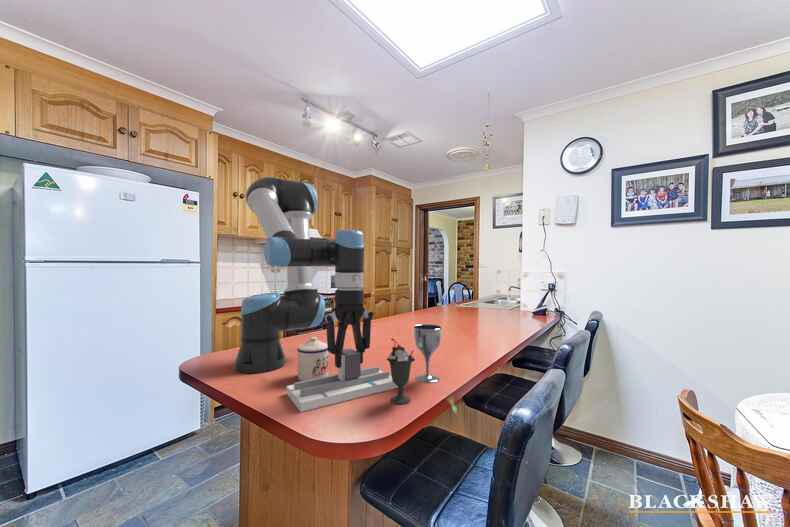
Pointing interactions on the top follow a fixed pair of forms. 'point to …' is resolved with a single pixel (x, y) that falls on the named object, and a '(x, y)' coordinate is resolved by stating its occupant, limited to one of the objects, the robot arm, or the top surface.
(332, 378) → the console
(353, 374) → the fader tab
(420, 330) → the wine glass
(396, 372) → the sundae
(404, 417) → the top surface
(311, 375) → the teacup with lid
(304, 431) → the top surface
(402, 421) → the top surface
